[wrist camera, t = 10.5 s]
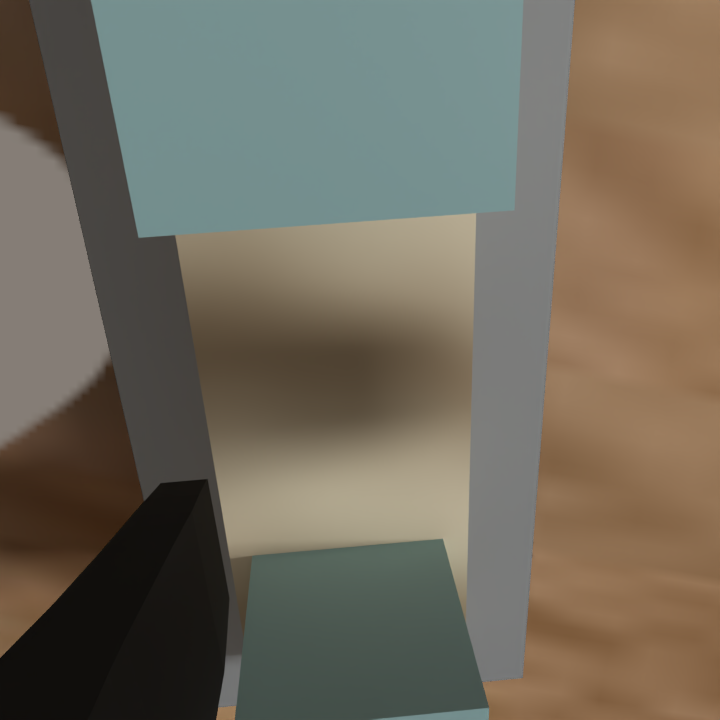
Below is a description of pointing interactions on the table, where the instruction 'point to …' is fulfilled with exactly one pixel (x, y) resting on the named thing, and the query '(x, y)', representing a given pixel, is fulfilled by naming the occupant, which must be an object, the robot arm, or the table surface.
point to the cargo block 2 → (358, 637)
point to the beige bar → (337, 383)
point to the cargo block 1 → (312, 109)
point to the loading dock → (490, 326)
